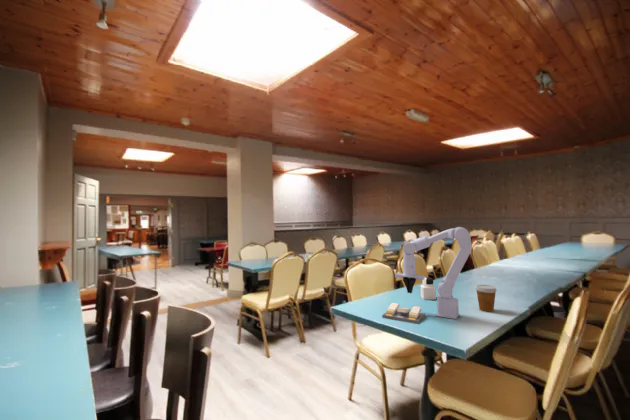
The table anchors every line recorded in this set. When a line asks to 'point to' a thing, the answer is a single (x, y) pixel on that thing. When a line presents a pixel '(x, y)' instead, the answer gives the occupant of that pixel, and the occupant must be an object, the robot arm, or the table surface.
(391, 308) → the rocker
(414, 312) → the block
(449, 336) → the table surface
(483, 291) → the disposable coffee cup
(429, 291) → the medicine bottle
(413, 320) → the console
